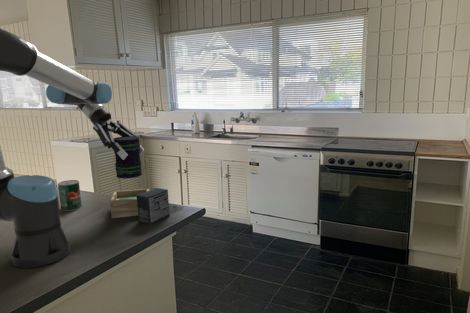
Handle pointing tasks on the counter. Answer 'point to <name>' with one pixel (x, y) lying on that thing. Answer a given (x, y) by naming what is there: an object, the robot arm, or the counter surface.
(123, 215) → the open wooden box
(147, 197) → the small box
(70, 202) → the canned tomato
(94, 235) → the counter surface
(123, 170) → the blue metal drum
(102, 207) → the counter surface
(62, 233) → the robot arm
